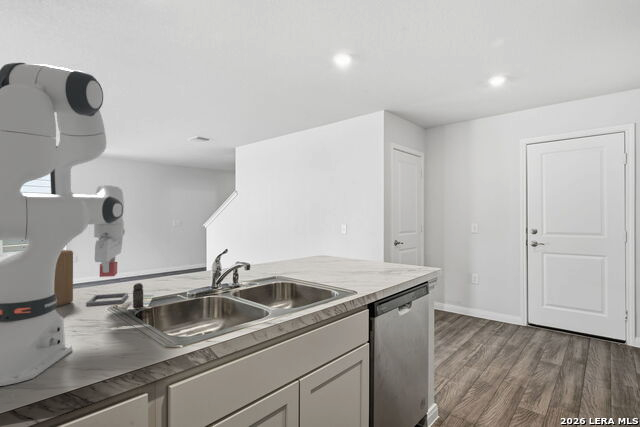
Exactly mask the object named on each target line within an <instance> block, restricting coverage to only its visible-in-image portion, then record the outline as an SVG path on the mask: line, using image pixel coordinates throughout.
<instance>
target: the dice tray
mask: <svg viewBox="0 0 640 427" xmlns="http://www.w3.org/2000/svg"><path fill="white" fill-rule="evenodd" d="M127 297H129V293H128V292H122V293H119V292H118V293H109V294H108V293H107V294H94V296H92V297H91V298H90V299H89V300H88V301H86V302H85V306H86V307H92V306H93V307H94V306H104V305H105V306H106V305H116V304H123V302H124V301H125V300H126V299H127ZM109 298H120V299H113V300H100V301H99V300H98V301H97V299H109Z"/></svg>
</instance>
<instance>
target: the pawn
mask: <svg viewBox="0 0 640 427" xmlns="http://www.w3.org/2000/svg"><path fill="white" fill-rule="evenodd" d="M143 288H144V286H143V284H142V283H140V282H137V283H135V284H134V285H133V289H132V301H133V308H139V309H142V308H141V307H143V295H144V289H143Z"/></svg>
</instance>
